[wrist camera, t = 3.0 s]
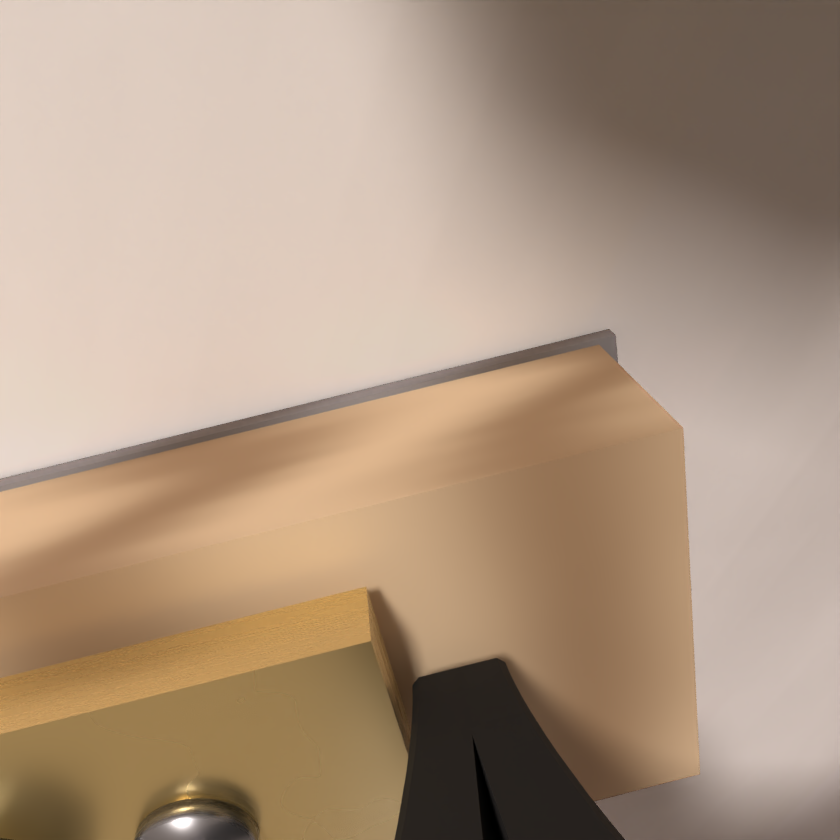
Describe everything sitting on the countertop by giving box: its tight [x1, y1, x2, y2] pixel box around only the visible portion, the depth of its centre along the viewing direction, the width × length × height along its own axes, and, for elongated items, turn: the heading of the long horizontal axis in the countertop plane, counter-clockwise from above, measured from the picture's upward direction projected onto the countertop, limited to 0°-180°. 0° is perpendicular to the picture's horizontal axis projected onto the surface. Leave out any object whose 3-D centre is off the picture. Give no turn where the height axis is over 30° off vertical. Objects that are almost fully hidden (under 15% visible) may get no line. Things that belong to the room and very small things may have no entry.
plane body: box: [0, 329, 700, 801], centre depth 12 cm, size 17×7×4 cm, turn 102°
